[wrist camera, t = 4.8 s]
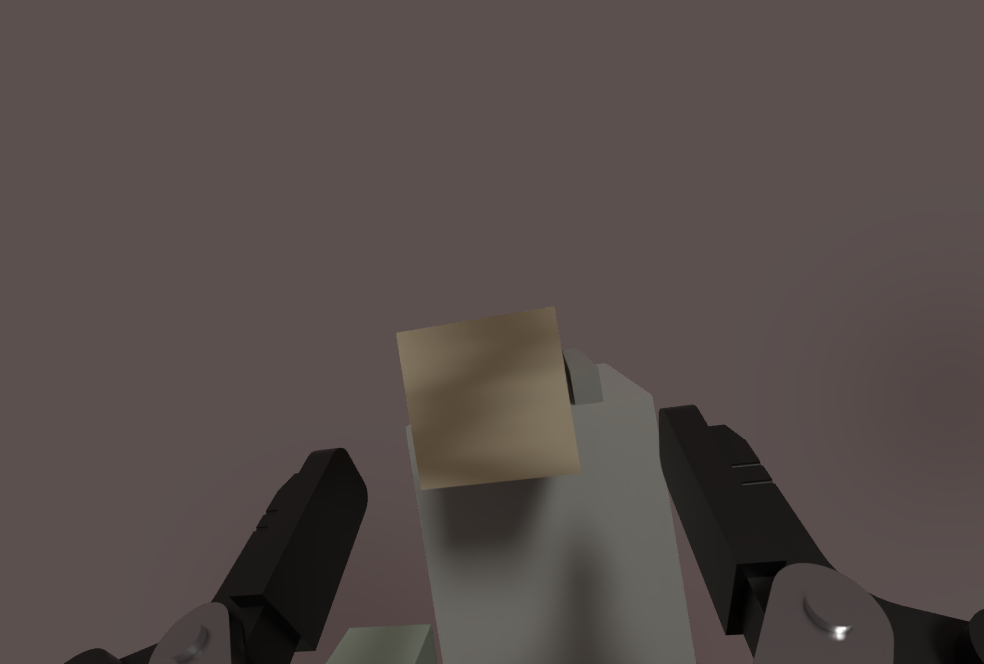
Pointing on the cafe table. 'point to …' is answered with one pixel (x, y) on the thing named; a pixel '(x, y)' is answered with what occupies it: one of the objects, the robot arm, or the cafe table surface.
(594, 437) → the grey stand
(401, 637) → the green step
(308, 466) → the robot arm
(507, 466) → the birch bar
